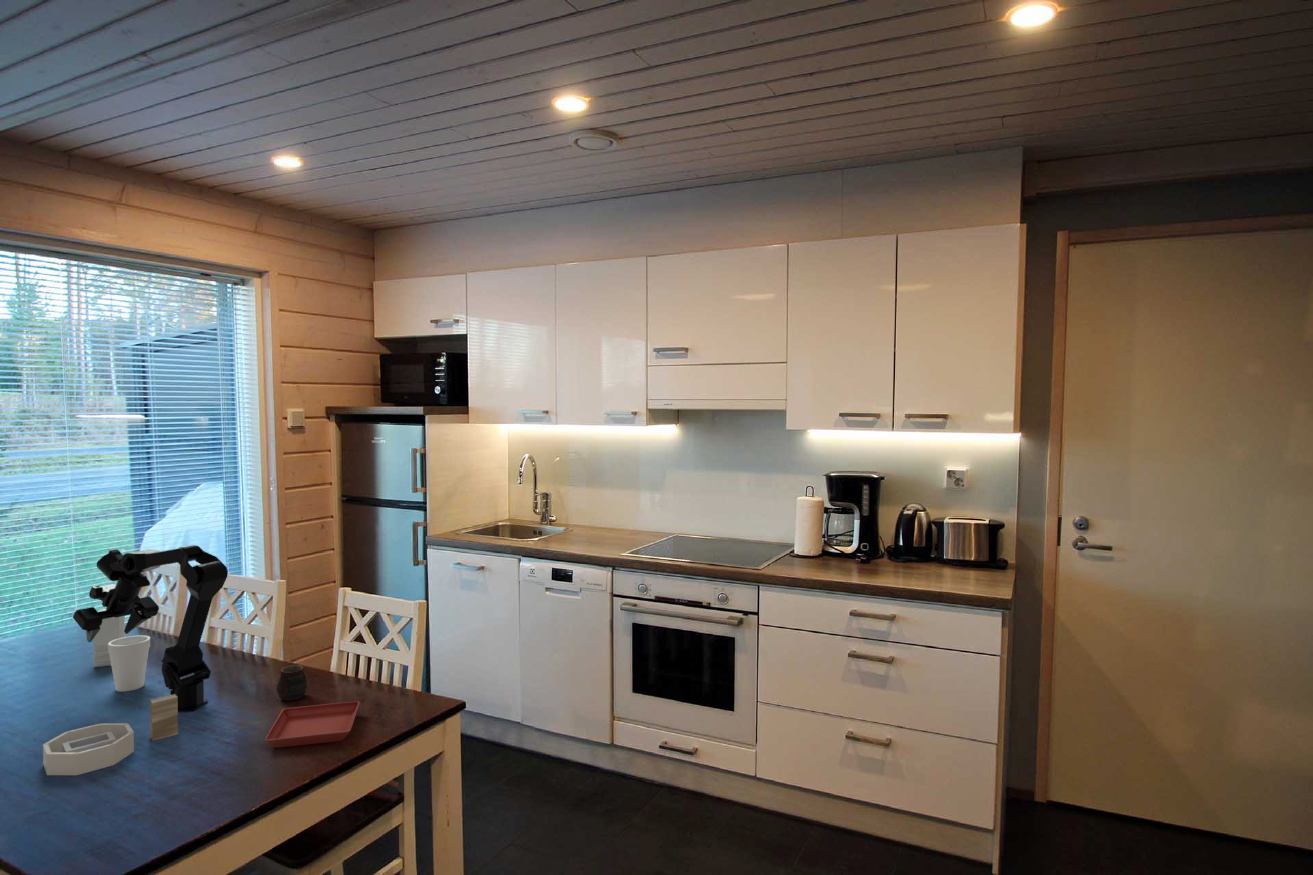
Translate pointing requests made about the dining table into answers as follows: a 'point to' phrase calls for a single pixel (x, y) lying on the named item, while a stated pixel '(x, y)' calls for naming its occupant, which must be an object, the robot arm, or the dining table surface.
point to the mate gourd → (291, 683)
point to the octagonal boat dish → (88, 749)
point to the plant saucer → (312, 724)
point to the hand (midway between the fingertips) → (107, 636)
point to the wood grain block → (163, 717)
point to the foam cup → (129, 661)
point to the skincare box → (107, 639)
